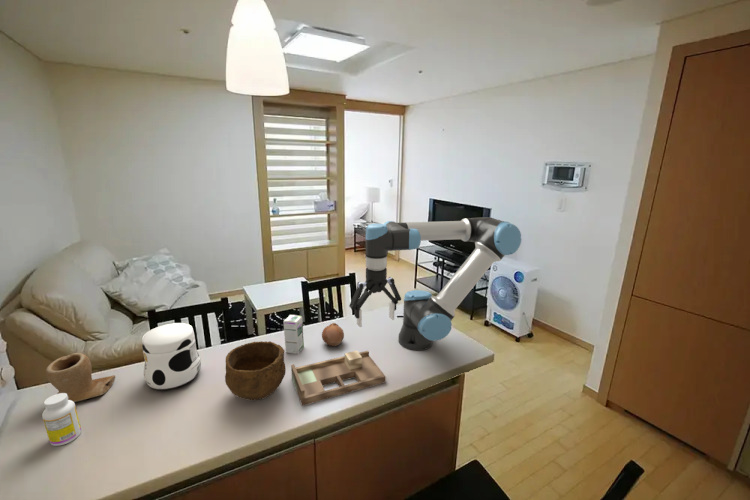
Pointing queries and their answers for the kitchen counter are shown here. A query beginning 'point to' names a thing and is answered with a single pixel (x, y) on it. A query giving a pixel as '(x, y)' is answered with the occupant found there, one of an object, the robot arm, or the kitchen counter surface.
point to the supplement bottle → (61, 419)
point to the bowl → (255, 370)
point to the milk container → (170, 356)
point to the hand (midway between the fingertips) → (375, 321)
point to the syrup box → (293, 334)
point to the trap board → (334, 378)
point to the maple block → (353, 360)
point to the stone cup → (76, 378)
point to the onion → (333, 335)
